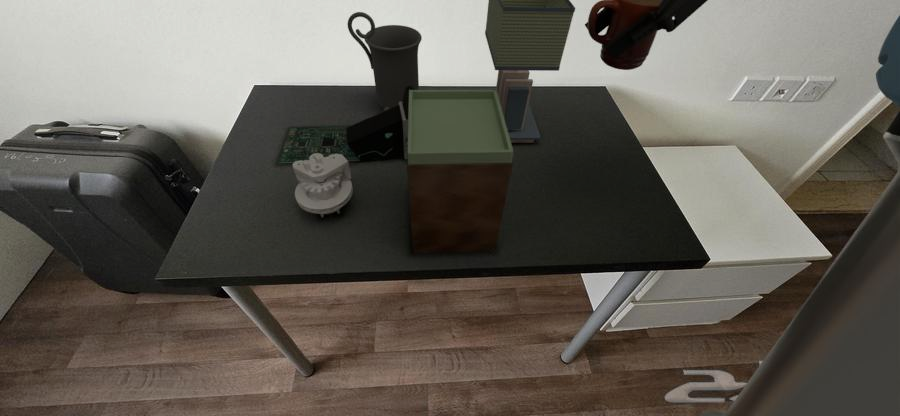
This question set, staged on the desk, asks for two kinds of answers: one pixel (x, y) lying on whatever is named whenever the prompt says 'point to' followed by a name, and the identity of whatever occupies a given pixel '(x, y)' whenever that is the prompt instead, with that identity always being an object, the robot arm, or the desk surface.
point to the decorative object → (382, 133)
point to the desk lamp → (525, 54)
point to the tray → (457, 128)
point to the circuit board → (316, 143)
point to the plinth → (456, 205)
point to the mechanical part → (323, 183)
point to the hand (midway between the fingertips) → (598, 41)
